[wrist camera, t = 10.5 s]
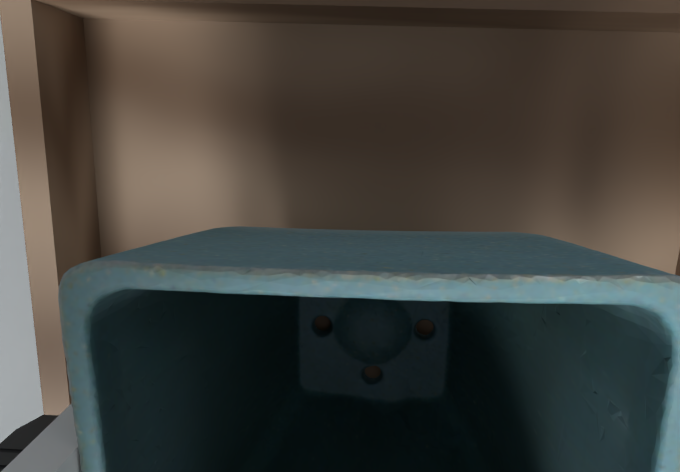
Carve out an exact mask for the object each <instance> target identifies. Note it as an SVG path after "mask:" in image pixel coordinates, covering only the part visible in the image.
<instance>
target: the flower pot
mask: <svg viewBox="0 0 680 472" xmlns="http://www.w3.org/2000/svg"><path fill="white" fill-rule="evenodd" d="M58 302H59V310H60V322H61V330H62V342H63V347H64V353H65V357H66V361H67V374H68V379H69V389H70V396H71V405H72V408H73V416H74V425H75V431H76V436H77V443H78V451H79V454H80V466H81V472H680V276H678V275H674V274H670V273H667V272H664V271H661V270H657V269H654V268H651V267H647V266H644V265H640V264H637V263H634V262H631V261H628V260H625V259H621V258H618V257H615V256H612V255H609V254H606V253H603V252H599V251H596V250H592V249H589V248H586V247H583V246H580V245H576V244H573V243H570V242H566V241H562V240H559V239H555V238H551V237H548V236H543V235H538V234H530V233H521V232H453V231H375V230H334V229H298V228H271V227H244V226H238V227H221V228H214V229H209V230H205V231H201V232H197V233H192V234H188V235H184V236H180V237H177V238H173V239H169V240H165V241H161V242H158V243H154V244H150V245H146V246H143V247H139V248H135V249H131V250H127V251H124V252H120V253H116V254H113V255H109V256H105V257H102V258H98V259H94V260H91V261H87V262H84V263H80V264H78V265H76V266H74V267H72V268H70V269H69V270H68V271H67V272H66V273H64V274H63V277H62V279H61V281H60V285H59V292H58ZM320 316H325V317H327V318H328V319H329V320H330V322H331V325H330V327H329V328H328V329H327V330H326V331H322V330H319V329H318V328H317V327H316V325H315V320H316V318H317V317H320ZM421 320H429V321H431V322H432V323H433V330H432V331H431V332H430V333H429V334H428V335H423V334H420V333H419V332H418V331H417V329H416V325H417V323H418V322H419V321H421ZM370 366H377V367H379V368H380V370H381V373H380V375H379V376H378V377H376V378H369V377H368V376H367V375H366V374H365V369H366V368H367V367H370Z"/></svg>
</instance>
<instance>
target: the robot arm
mask: <svg viewBox="0 0 680 472" xmlns="http://www.w3.org/2000/svg"><path fill="white" fill-rule="evenodd" d="M0 472H81V466H80V454H79V451H78V443H77V436H76V431H75V425H74V416H73V408H72V405H71V404H70V405H69V406H68V407H67V408H66V409H65V410H64V411H63V412H62V413H61V414H60V415H42V416H40V417H38V418H37V419H35V420H33V421H31V422H29V423H27V424H26V425H24V426H22V427H20V428H18V429H16V430H15V431H14V432H13V433H12V434H11V435H9V436H8V437H7V438H6V439H5V440H4V441H3V442H2V443H0Z"/></svg>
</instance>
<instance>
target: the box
mask: <svg viewBox="0 0 680 472" xmlns="http://www.w3.org/2000/svg"><path fill="white" fill-rule="evenodd" d="M0 15H1V25H2V34H3V43H4V52H5V61H6V70H7V80H8V89H9V98H10V107H11V116H12V125H13V135H14V144H15V153H16V162H17V171H18V180H19V190H20V199H21V208H22V217H23V226H24V235H25V245H26V254H27V263H28V272H29V281H30V291H31V300H32V309H33V318H34V327H35V336H36V346H37V355H38V364H39V373H40V382H41V391H42V401H43V410H44V415H60V414H61V413H62V412H63V411H64V410H65V409H66V408H67V407H68V406H69V405H70V404H71V396H70V389H69V379H68V374H67V361H66V357H65V353H64V347H63V342H62V330H61V322H60V310H59V302H58V292H59V285H60V281H61V279H62V277H63V274H64V273H66V272H67V271H68V270H69V269H70V268H72V267H74V266H76V265H78V264H80V263H84V262H87V261H91V260H94V259H98V258H102V257H105V256H109V255H113V254H116V253H120V252H124V251H127V250H131V249H135V248H139V247H143V246H146V245H150V244H154V243H158V242H161V241H165V240H169V239H173V238H177V237H180V236H184V235H188V234H192V233H197V232H201V231H205V230H209V229H214V228H221V227H238V226H244V227H271V228H298V229H334V230H375V231H453V232H521V233H530V234H538V235H543V236H548V237H551V238H555V239H559V240H562V241H566V242H570V243H573V244H576V245H580V246H583V247H586V248H589V249H592V250H596V251H599V252H603V253H606V254H609V255H612V256H615V257H618V258H621V259H625V260H628V261H631V262H634V263H637V264H640V265H644V266H647V267H651V268H654V269H657V270H661V271H664V272H667V273H670V274H674V275H678V276H680V0H0ZM315 325H316V327H317V328H318V329H319V330H322V331H326V330H327V329H328V328H329V327H330V325H331V322H330V320H329V319H328V318H327V317H325V316H320V317H317V318H316V320H315ZM416 329H417V331H418V332H419V333H420V334H423V335H428V334H429V333H430V332H431V331H432V330H433V323H432V322H431V321H429V320H421V321H419V322H418V323H417V325H416ZM380 373H381V370H380V368H379V367H377V366H370V367H367V368H366V369H365V374H366V375H367V376H368V377H369V378H376V377H378V376H379V375H380Z"/></svg>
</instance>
